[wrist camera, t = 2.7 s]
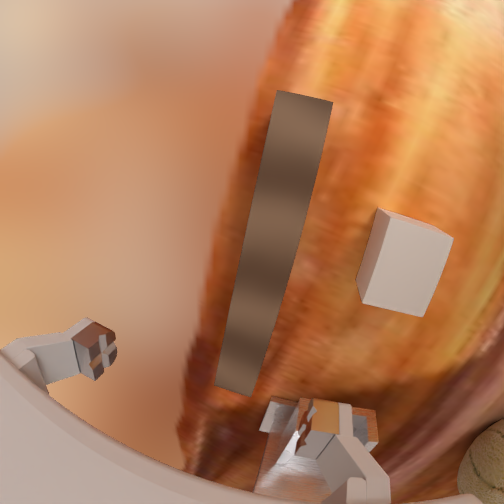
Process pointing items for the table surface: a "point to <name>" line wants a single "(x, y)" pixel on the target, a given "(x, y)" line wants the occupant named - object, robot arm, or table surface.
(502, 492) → the cantaloupe
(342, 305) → the table surface
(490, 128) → the table surface
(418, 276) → the pale grey block
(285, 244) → the walnut rail
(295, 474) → the bracket
